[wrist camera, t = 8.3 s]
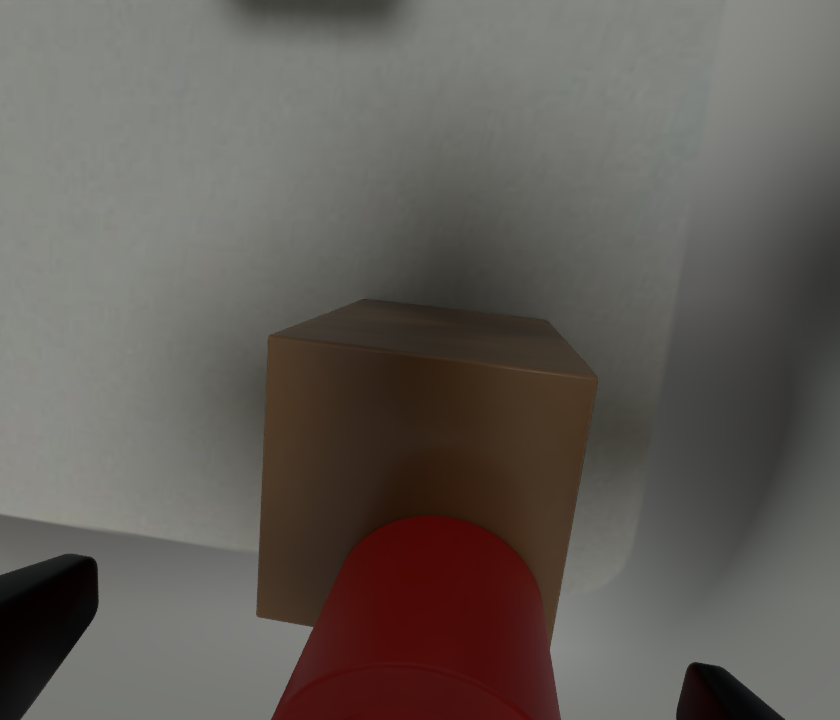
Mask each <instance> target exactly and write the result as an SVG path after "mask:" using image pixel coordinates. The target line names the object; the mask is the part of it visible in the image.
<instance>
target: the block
mask: <svg viewBox="0 0 840 720" xmlns="http://www.w3.org/2000/svg"><path fill="white" fill-rule="evenodd" d="M597 384H598V377H597V375H596V374H595V373H594V372H593V371H592V370H591V369H590V368H589V366H588V365H587V364H586V363H585V362H584V361H583V360H582V359H581V357H580V356H579V355H578V354H577V353H576V352H575V351H574V350H573V348H572V347H571V346H570V345H569V344H568V343H567V342H566V341H565V339H564V338H563V337H562V336H561V335H560V334H559V333H558V332H557V330H556V329H555V328H554V327H553V326H552V325H551V324H550V323H549V321H547V320H539V319H531V318H522V317H514V316H505V315H497V314H488V313H480V312H471V311H462V310H454V309H445V308H437V307H428V306H420V305H411V304H403V303H394V302H386V301H377V300H369V299H363V300H360V301H357V302H355V303H352V304H349V305H347V306H344V307H342V308H339V309H336V310H334V311H331V312H329V313H326V314H323V315H321V316H318V317H316V318H313V319H310V320H308V321H305V322H303V323H300V324H297V325H295V326H292V327H290V328H287V329H284V330H282V331H279V332H276V333H274V334H271V335H269V338H268V357H267V380H266V403H265V426H264V449H263V472H262V495H261V518H260V542H259V565H258V588H257V611H256V615H257V616H258V617H260V618H266V619H272V620H277V621H282V622H288V623H294V624H299V625H305V626H310V627H314V626H315V623H316V621H317V619H318V617H319V615H320V613H321V610H322V608H323V606H324V604H325V602H326V599H327V597H328V595H329V593H330V591H331V589H332V586H333V584H334V582H335V580H336V578H337V576H338V573H339V571H340V569H341V567H342V565H343V563H344V562H345V560H346V558H347V556H348V555H349V554H350V552H351V551H352V550H353V549H354V547H355V546H356V545H357V544H358V543H359V542H361V541H362V540H363V539H364V538H365V537H366V536H368V535H369V534H371V533H372V532H373V531H375V530H377V529H379V528H381V527H383V526H384V525H386V524H389V523H392V522H395V521H397V520H400V519H405V518H409V517H415V516H426V515H429V516H445V517H451V518H457V519H460V520H464V521H467V522H470V523H473V524H475V525H478V526H480V527H482V528H484V529H486V530H488V531H489V532H491V533H493V534H495V535H496V536H497V537H499V538H500V539H502V540H503V541H504V542H506V543H507V544H508V545H509V546H510V547H511V548H512V549H513V550H514V551H515V552H516V553H517V554H518V555H519V556H520V557H521V559H522V560H523V561H524V562H525V563H526V565H527V567H528V568H529V570H530V571H531V573H532V575H533V577H534V579H535V581H536V583H537V586H538V588H539V592H540V595H541V599H542V604H543V611H544V617H545V623H546V630H547V636H548V642H549V648H550V645H551V639H552V634H553V628H554V623H555V617H556V611H557V606H558V601H559V595H560V590H561V584H562V578H563V573H564V567H565V562H566V556H567V551H568V545H569V540H570V534H571V528H572V523H573V517H574V512H575V506H576V501H577V495H578V490H579V484H580V479H581V473H582V467H583V462H584V456H585V451H586V445H587V440H588V434H589V429H590V423H591V417H592V412H593V406H594V401H595V395H596V390H597Z"/></svg>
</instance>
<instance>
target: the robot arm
mask: <svg viewBox="0 0 840 720" xmlns="http://www.w3.org/2000/svg"><path fill="white" fill-rule="evenodd" d="M98 601H99V600H98V567H97V563H96V561H95V559H93V558H92V557H88V556H83V555H77V554H64V555H61V556H58V557H55V558H52V559H49V560H46V561H43V562H39V563H37V564H34V565H30V566H27V567H24V568H21V569H18V570H15V571H12V572H9V573H6V574H2V575H0V720H20V719H21V718H22V717H23V715H24V714H25V713H26V712H27V710H28V709H29V708H30V706H31V705H32V704H33V702H34V701H35V700H36V698H37V697H38V696H39V694H40V693H41V691H42V690H43V689H44V687H45V686H46V684H47V683H48V682H49V680H50V679H51V677H52V676H53V675H54V673H55V672H56V670H57V669H58V668H59V666H60V665H61V663H62V662H63V661H64V659H65V658H66V656H67V655H68V654H69V652H70V651H71V649H72V648H73V647H74V645H75V644H76V643H77V641H78V640H79V638H80V637H81V636H82V634H83V633H84V631H85V630H86V628H87V627H88V626H89V624H90V623H91V621H92V620H93V618H94V616H95V614H96V612H97V608H98ZM676 719H677V720H785V719H784V718H783V717H781V716H780V715H779V714H778V713H776V712H775V711H774V710H773V709H772V708H771V707H769V706H768V705H767V704H766V703H765V702H764V701H762V700H761V699H760V698H759V697H757V696H756V695H755V694H754V693H753V692H752V691H750V690H749V689H748V688H747V687H746V686H744V685H743V684H742V683H741V682H740V681H738V680H737V679H736V678H735V677H734V676H733V675H731V674H730V673H729V672H728V671H726V670H725V669H724V668H722V667H720V666H715V665H709V664H703V663H697V662H694V663H691V664H690V665H689V666H688V668H687V670H686V674H685V678H684V682H683V686H682V690H681V694H680V698H679V703H678V707H677V713H676Z"/></svg>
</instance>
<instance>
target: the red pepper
mask: <svg viewBox="0 0 840 720" xmlns="http://www.w3.org/2000/svg"><path fill="white" fill-rule="evenodd" d="M271 720H561V718H560V712H559V705H558V699H557V693H556V687H555V681H554V674H553V668H552V661H551V655H550V648H549V642H548V636H547V630H546V623H545V617H544V611H543V604H542V599H541V595H540V592H539V588H538V586H537V583H536V581H535V579H534V577H533V575H532V573H531V571H530V570H529V568H528V567H527V565H526V563H525V562H524V561H523V560H522V559H521V557H520V556H519V555H518V554H517V553H516V552H515V551H514V550H513V549H512V548H511V547H510V546H509V545H508V544H507V543H506V542H504V541H503V540H502V539H500V538H499V537H497V536H496V535H495V534H493V533H491V532H489V531H488V530H486V529H484V528H482V527H480V526H478V525H475V524H473V523H470V522H467V521H464V520H460V519H457V518H451V517H445V516H429V515H426V516H415V517H409V518H405V519H400V520H397V521H395V522H392V523H389V524H386V525H384V526H383V527H381V528H379V529H377V530H375V531H373V532H372V533H371V534H369V535H368V536H366V537H365V538H364V539H363V540H362V541H361V542H359V543H358V544H357V545H356V546H355V547H354V549H353V550H352V551H351V552H350V554H349V555H348V556H347V558H346V560H345V562H344V563H343V565H342V567H341V569H340V571H339V573H338V576H337V578H336V580H335V582H334V584H333V586H332V589H331V591H330V593H329V595H328V597H327V599H326V602H325V604H324V606H323V608H322V610H321V613H320V615H319V617H318V619H317V621H316V623H315V626H314V628H313V630H312V632H311V634H310V637H309V639H308V641H307V643H306V645H305V647H304V649H303V652H302V654H301V656H300V658H299V661H298V663H297V665H296V667H295V669H294V671H293V673H292V676H291V678H290V680H289V682H288V684H287V686H286V689H285V691H284V693H283V695H282V697H281V699H280V702H279V704H278V706H277V708H276V710H275V713H274V715H273V717H272V719H271Z"/></svg>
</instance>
